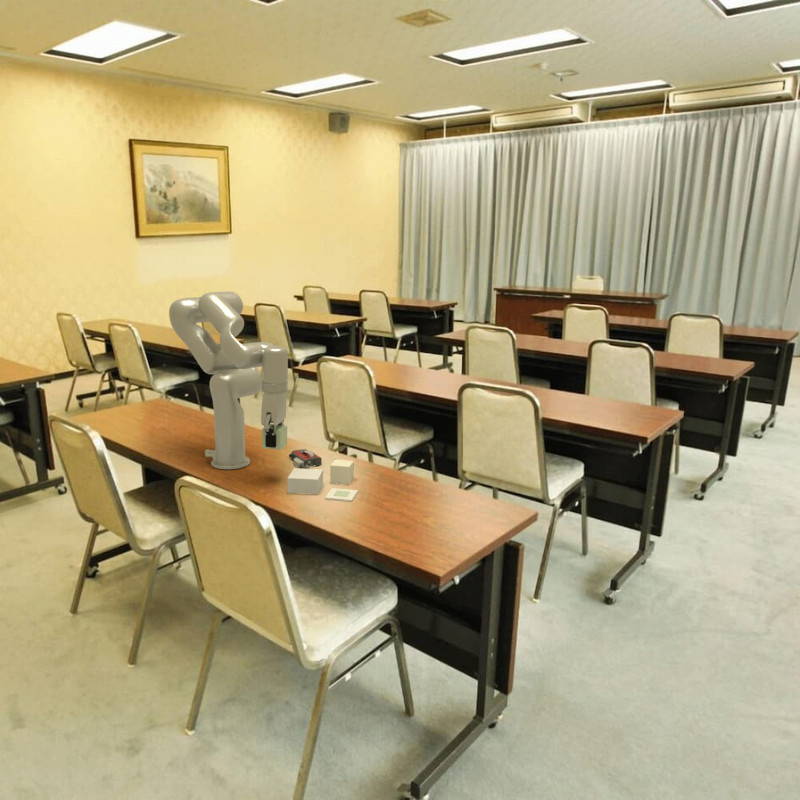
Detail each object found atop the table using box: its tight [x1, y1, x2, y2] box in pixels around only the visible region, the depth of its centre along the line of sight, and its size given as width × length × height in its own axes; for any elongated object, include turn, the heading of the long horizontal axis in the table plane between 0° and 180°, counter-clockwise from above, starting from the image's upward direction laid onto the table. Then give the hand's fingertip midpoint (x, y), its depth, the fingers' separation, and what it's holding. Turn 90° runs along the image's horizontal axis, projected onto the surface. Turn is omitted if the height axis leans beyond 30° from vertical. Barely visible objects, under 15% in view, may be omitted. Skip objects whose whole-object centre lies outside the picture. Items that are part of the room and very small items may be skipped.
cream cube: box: [329, 459, 355, 486], centre depth 205 cm, size 6×6×6 cm
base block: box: [287, 467, 324, 495], centre depth 198 cm, size 9×9×5 cm
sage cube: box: [261, 423, 288, 451], centre depth 202 cm, size 6×6×6 cm
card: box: [324, 487, 359, 502], centre depth 193 cm, size 8×8×1 cm
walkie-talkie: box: [288, 448, 323, 469], centre depth 220 cm, size 9×4×20 cm
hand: (274, 443), depth 202 cm, fingers closed on sage cube, 6 cm apart
